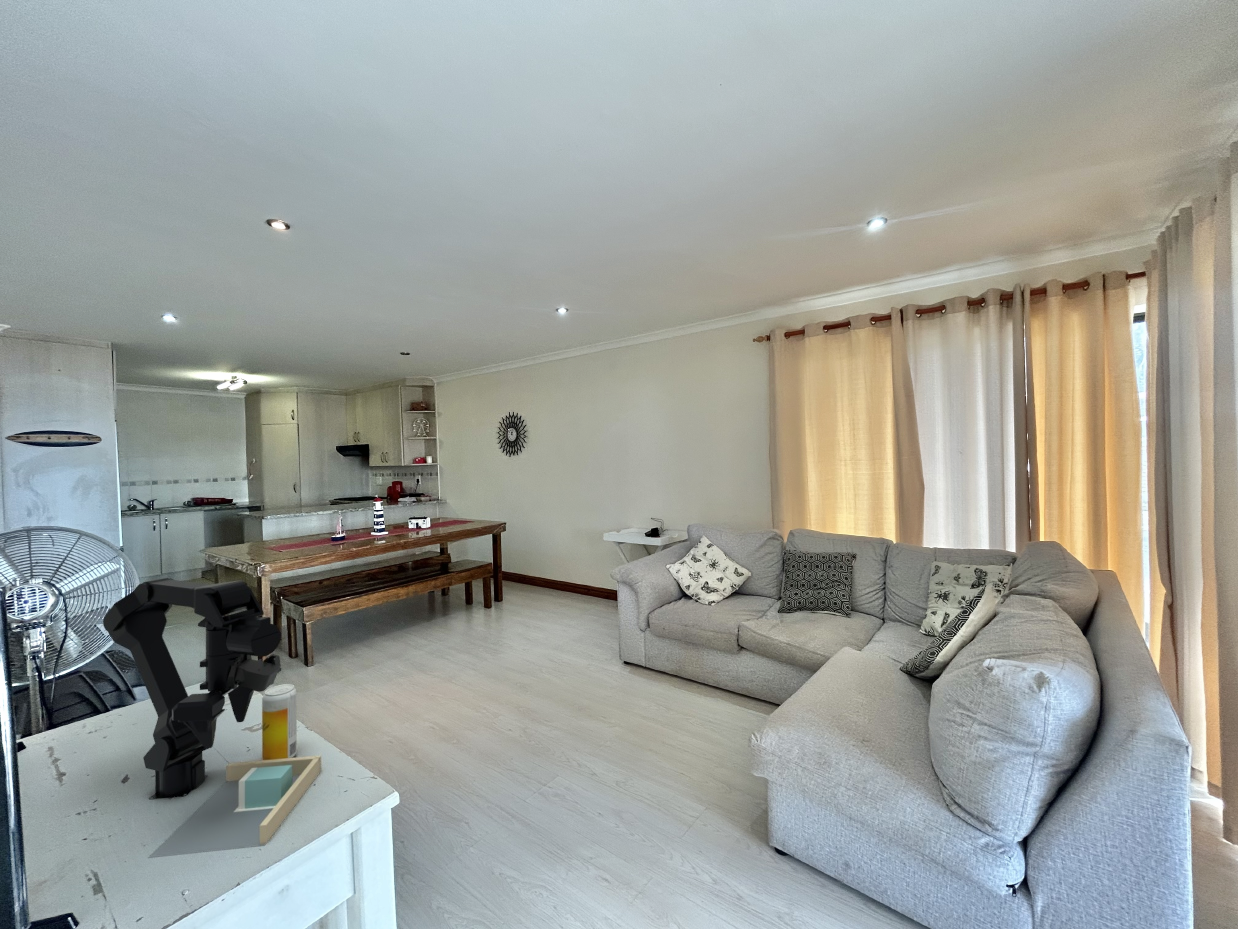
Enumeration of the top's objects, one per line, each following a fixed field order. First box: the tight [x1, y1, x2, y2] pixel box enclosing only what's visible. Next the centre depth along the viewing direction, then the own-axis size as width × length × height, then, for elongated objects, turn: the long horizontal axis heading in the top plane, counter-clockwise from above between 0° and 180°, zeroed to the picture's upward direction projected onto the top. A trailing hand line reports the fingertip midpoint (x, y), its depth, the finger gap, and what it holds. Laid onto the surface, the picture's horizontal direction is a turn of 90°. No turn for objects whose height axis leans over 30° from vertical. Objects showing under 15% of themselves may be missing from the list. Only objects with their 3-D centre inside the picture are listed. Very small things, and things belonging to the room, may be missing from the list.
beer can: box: [261, 683, 298, 760], centre depth 106 cm, size 6×6×15 cm
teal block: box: [239, 765, 292, 809], centre depth 92 cm, size 4×7×5 cm, turn 98°
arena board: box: [147, 755, 322, 859], centre depth 90 cm, size 17×20×4 cm
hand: (225, 734), depth 93 cm, fingers open, 9 cm apart
